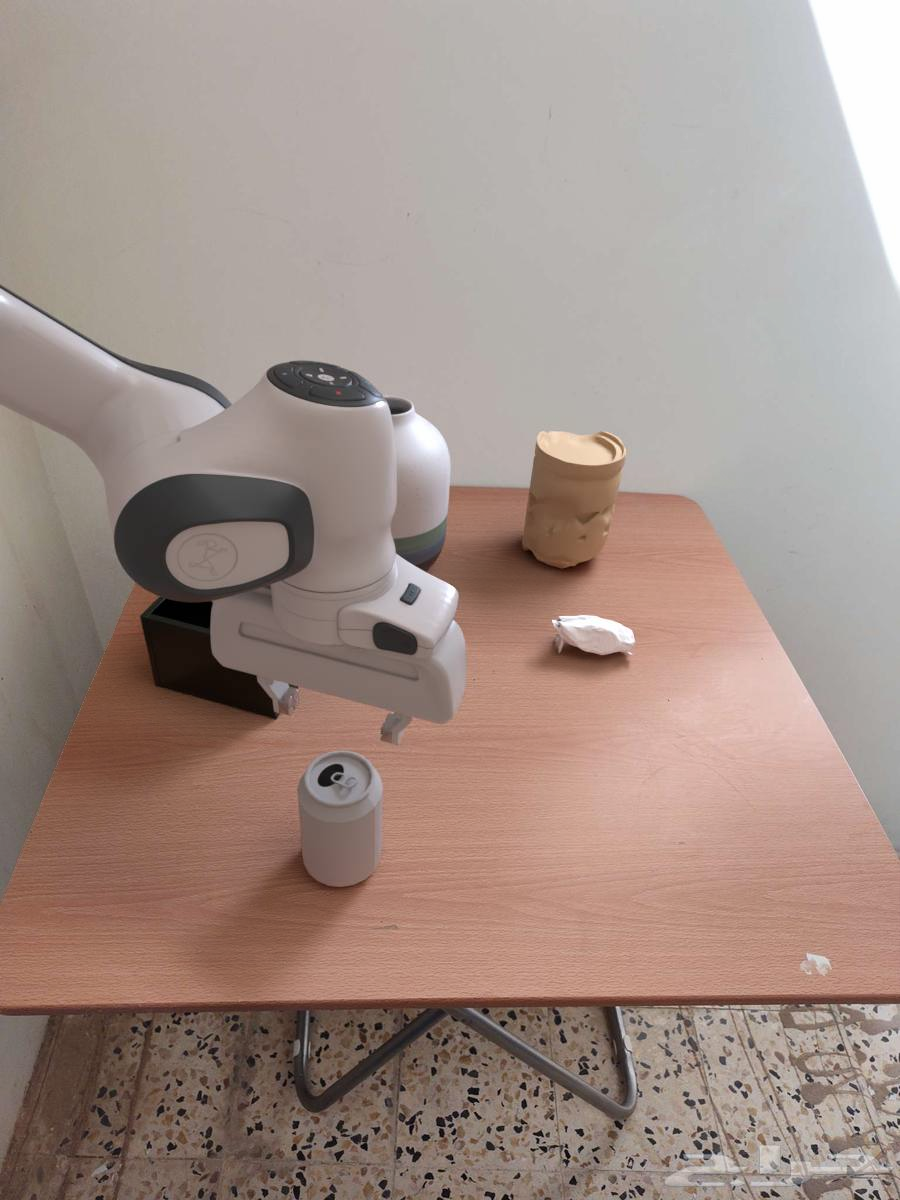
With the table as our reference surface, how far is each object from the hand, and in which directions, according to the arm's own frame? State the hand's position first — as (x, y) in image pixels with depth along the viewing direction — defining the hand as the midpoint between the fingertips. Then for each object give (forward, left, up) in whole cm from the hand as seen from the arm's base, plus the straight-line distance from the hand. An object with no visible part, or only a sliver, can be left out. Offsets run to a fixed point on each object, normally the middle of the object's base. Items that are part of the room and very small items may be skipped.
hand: (339, 723), depth 66 cm
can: (0, 0, -19) cm, 19 cm away
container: (+10, +61, -19) cm, 65 cm away
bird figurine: (+18, +40, -19) cm, 48 cm away
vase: (-14, +49, -19) cm, 54 cm away
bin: (-22, +22, -18) cm, 36 cm away
